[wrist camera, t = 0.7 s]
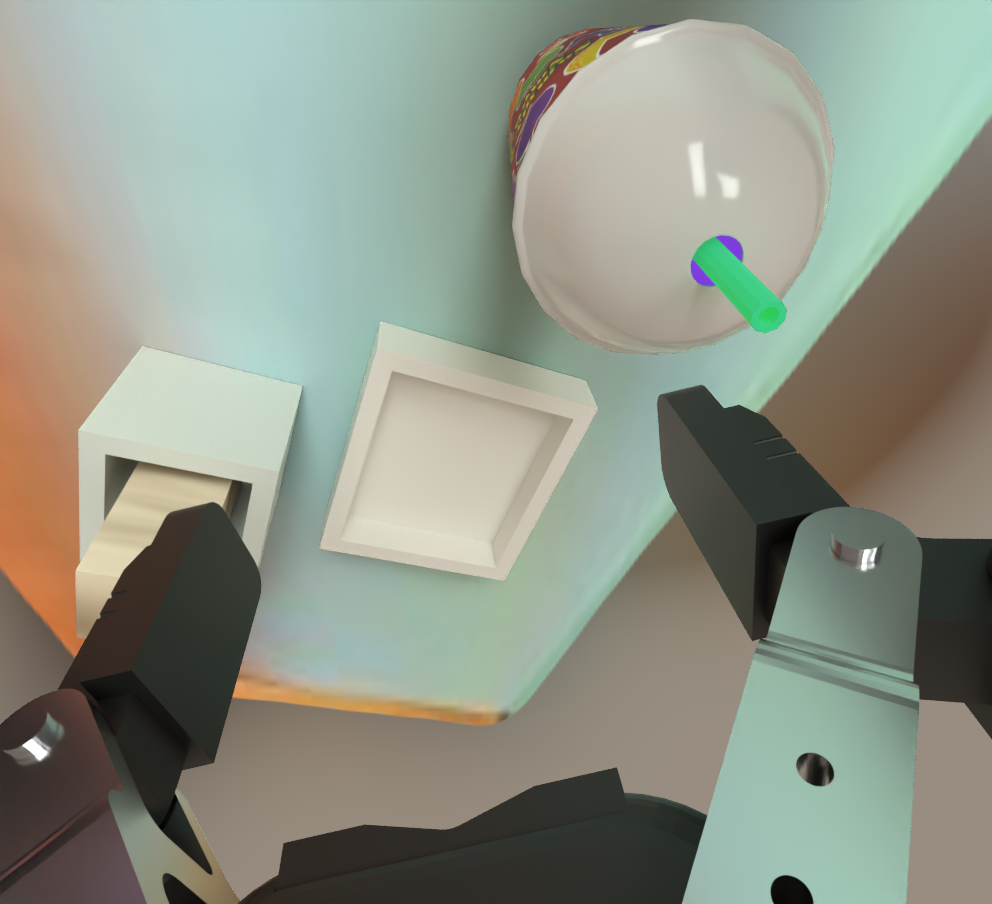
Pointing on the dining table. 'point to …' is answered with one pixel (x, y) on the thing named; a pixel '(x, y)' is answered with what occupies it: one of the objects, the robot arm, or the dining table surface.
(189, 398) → the white open box
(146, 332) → the dining table surface
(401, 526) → the plastic tray
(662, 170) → the smoothie
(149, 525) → the birch peg
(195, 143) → the dining table surface
